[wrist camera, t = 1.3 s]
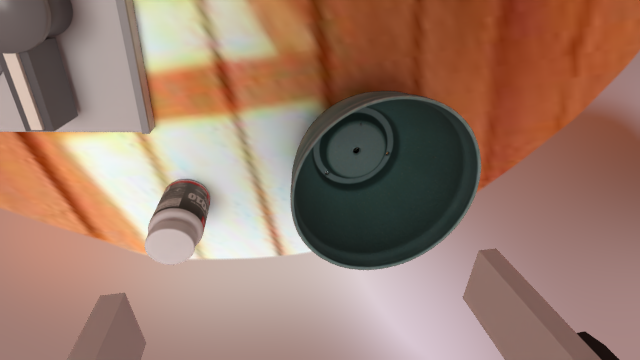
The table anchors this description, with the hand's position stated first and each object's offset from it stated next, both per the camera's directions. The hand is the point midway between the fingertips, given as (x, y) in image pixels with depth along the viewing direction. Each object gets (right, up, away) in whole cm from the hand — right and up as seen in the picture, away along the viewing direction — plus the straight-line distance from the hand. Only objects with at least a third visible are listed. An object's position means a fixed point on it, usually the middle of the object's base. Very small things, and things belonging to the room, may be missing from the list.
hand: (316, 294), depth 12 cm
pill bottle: (-14, +3, +23) cm, 27 cm away
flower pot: (+4, +8, +23) cm, 25 cm away
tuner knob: (-21, +15, +12) cm, 28 cm away
